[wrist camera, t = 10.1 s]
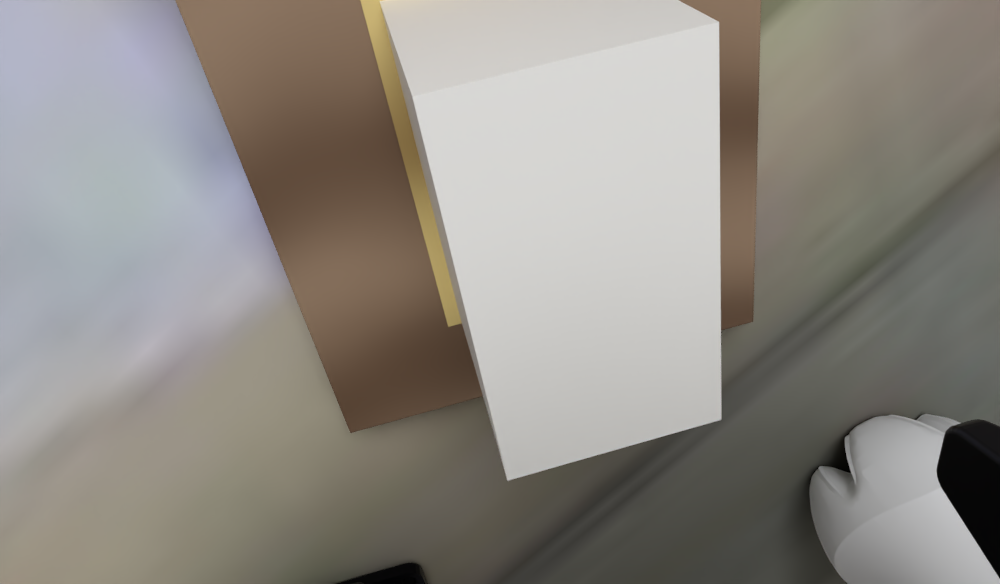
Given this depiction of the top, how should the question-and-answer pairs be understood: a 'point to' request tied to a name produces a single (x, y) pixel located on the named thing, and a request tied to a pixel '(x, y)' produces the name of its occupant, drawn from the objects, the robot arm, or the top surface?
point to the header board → (399, 188)
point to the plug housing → (574, 211)
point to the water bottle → (894, 509)
